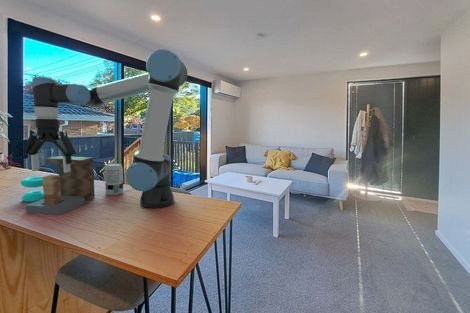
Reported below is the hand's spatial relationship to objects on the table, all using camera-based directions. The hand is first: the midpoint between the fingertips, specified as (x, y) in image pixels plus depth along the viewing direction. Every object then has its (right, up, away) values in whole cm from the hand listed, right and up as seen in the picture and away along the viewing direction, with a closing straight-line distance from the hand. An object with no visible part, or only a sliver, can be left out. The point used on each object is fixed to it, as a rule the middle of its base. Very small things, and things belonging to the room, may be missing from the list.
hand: (51, 171), depth 97 cm
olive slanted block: (-1, -14, +14) cm, 20 cm away
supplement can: (+12, -13, +27) cm, 33 cm away
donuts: (-17, -14, +13) cm, 26 cm away
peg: (-1, -16, +2) cm, 16 cm away
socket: (-1, -16, +4) cm, 16 cm away
